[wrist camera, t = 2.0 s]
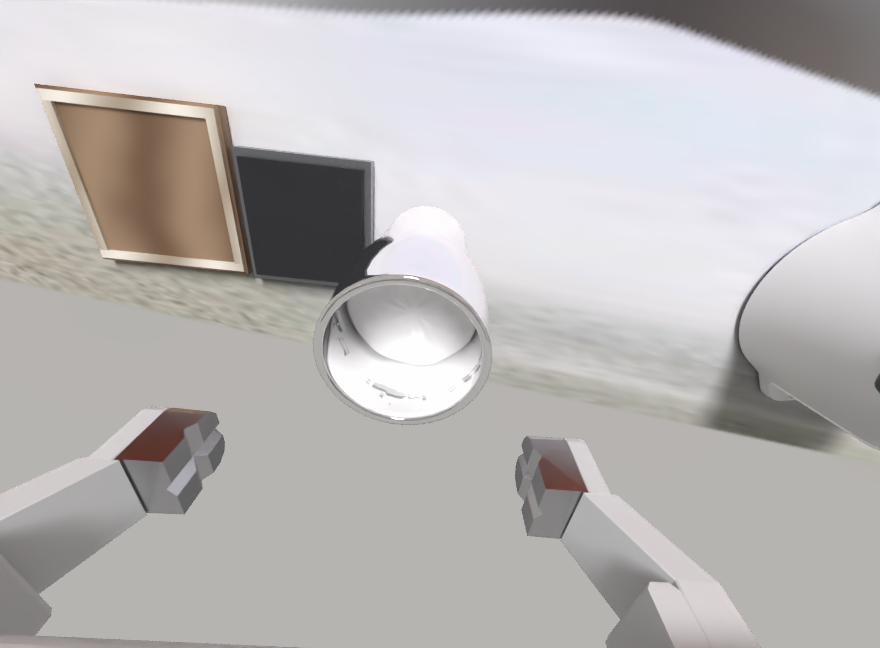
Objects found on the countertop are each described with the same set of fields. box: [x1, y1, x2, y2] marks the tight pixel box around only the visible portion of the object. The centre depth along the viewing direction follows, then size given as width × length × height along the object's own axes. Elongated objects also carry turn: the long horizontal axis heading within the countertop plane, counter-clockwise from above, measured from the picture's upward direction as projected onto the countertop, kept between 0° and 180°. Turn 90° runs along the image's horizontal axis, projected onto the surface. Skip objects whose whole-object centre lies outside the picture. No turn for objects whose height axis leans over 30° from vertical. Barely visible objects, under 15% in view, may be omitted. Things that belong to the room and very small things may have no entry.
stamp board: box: [34, 84, 253, 274], centre depth 23 cm, size 11×11×1 cm
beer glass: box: [313, 206, 492, 425], centre depth 19 cm, size 7×7×15 cm
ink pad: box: [231, 146, 374, 286], centre depth 24 cm, size 9×9×2 cm
